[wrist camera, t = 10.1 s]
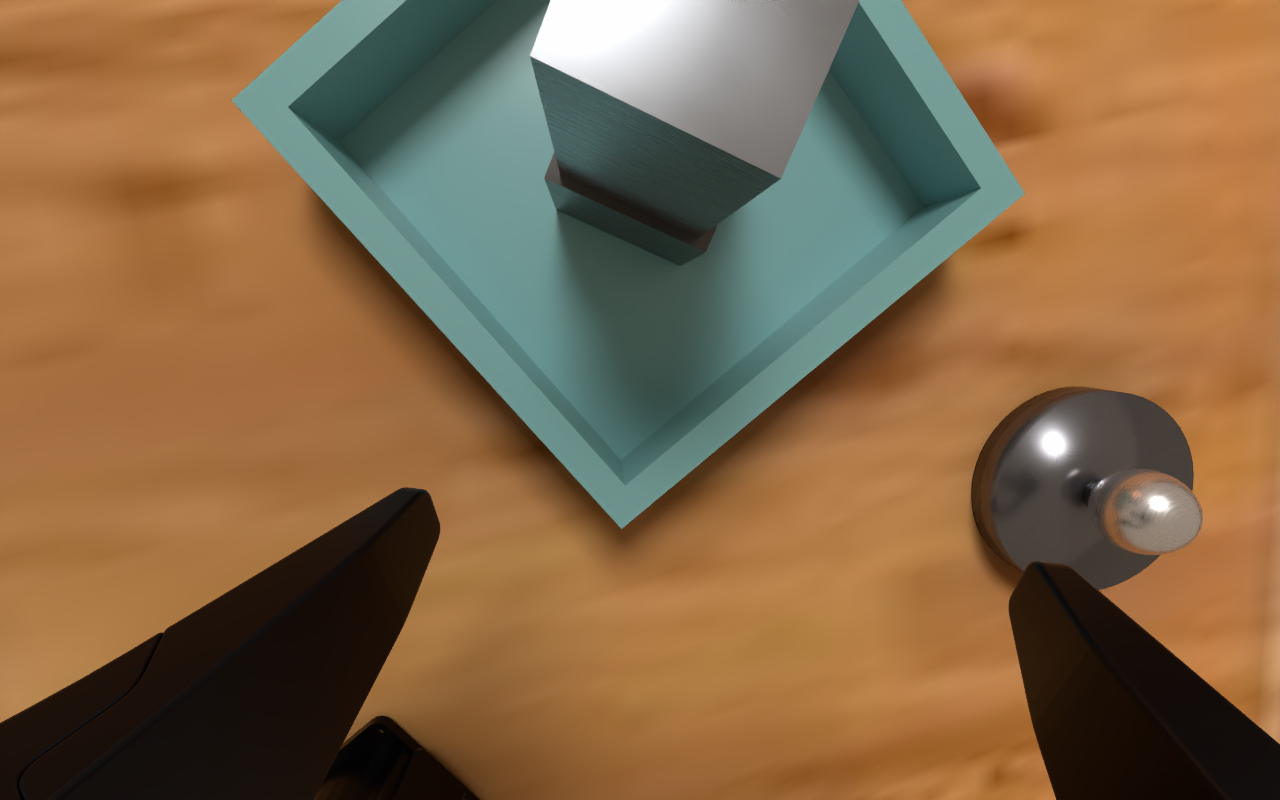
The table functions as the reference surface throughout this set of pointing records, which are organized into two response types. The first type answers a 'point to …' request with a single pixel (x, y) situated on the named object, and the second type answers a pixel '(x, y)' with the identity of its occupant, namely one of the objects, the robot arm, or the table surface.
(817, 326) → the bin
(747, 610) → the table surface
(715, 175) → the strut
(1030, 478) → the stud plate
